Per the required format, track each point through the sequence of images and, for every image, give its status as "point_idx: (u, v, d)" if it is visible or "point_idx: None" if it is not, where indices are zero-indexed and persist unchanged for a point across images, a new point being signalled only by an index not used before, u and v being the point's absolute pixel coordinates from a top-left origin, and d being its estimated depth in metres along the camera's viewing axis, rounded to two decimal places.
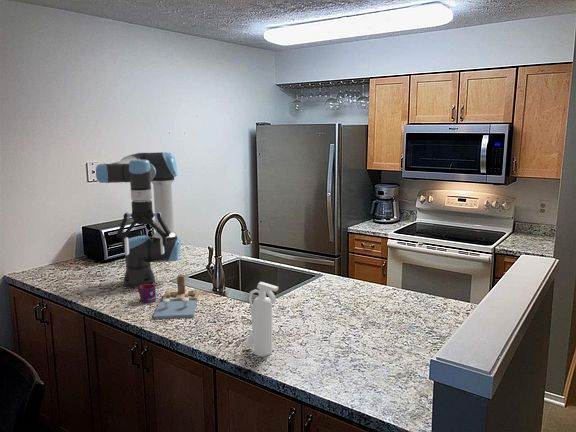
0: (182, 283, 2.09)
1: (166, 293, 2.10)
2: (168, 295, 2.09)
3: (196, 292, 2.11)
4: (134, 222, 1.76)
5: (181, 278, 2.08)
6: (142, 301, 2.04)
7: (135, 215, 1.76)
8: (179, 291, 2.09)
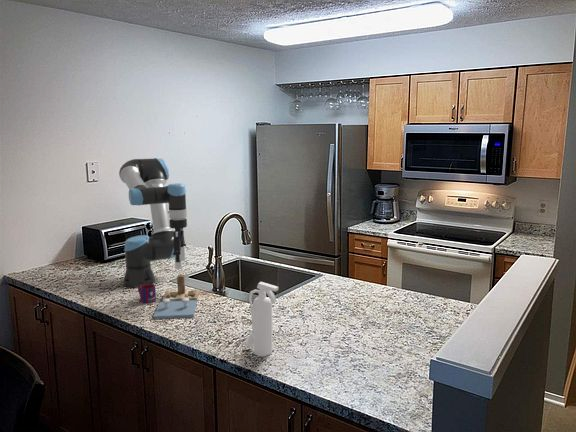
0: (182, 283, 2.09)
1: (166, 293, 2.10)
2: (168, 295, 2.09)
3: (196, 292, 2.11)
4: None
5: (181, 278, 2.08)
6: (142, 301, 2.04)
7: None
8: (179, 291, 2.09)
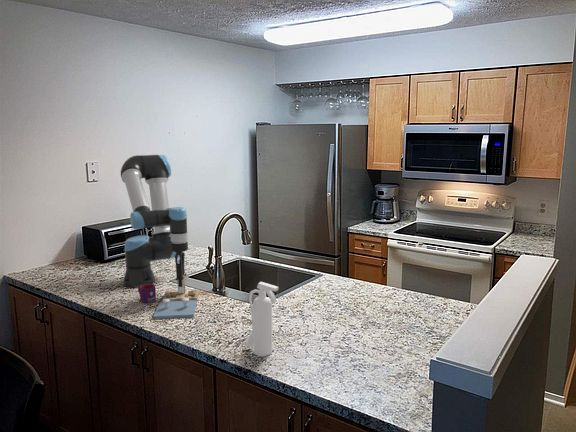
0: None
1: (166, 293, 2.10)
2: (168, 295, 2.09)
3: (196, 292, 2.11)
4: None
5: None
6: (142, 301, 2.04)
7: None
8: None
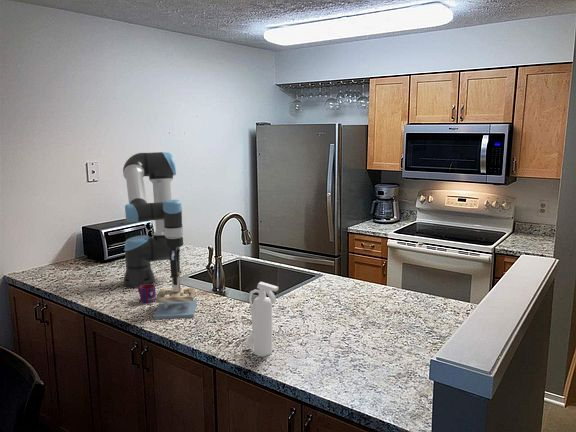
0: None
1: (160, 292, 1.97)
2: (162, 294, 1.96)
3: (192, 290, 1.98)
4: None
5: None
6: (142, 301, 2.04)
7: None
8: None
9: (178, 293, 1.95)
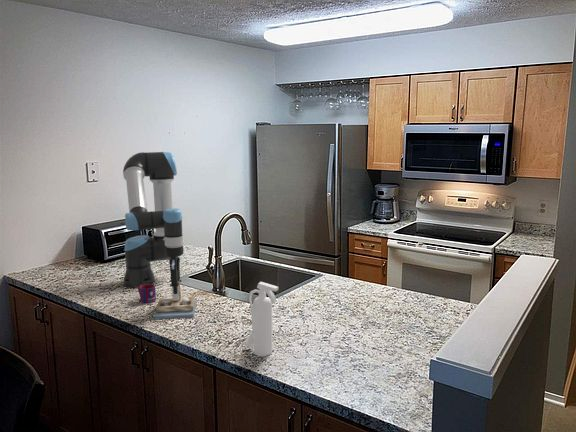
0: None
1: (160, 300, 1.97)
2: (162, 303, 1.95)
3: (192, 299, 1.98)
4: None
5: None
6: (142, 301, 2.04)
7: None
8: None
9: (178, 302, 1.95)
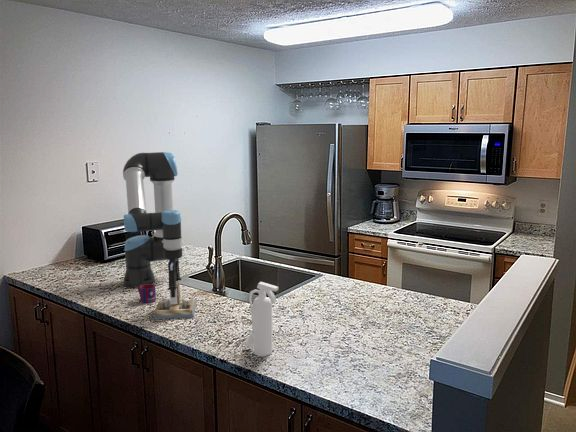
0: None
1: (159, 304, 1.94)
2: (161, 306, 1.92)
3: (191, 303, 1.95)
4: None
5: None
6: (142, 301, 2.04)
7: None
8: None
9: (177, 306, 1.92)
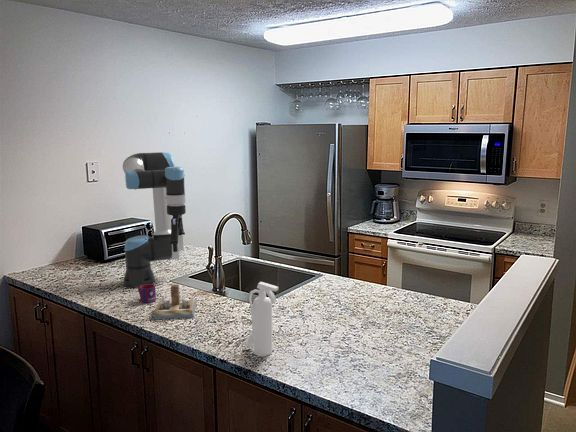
0: (176, 293, 1.92)
1: (159, 304, 1.94)
2: (161, 306, 1.92)
3: (191, 303, 1.95)
4: None
5: (175, 288, 1.92)
6: (142, 301, 2.04)
7: None
8: (173, 302, 1.93)
9: (177, 306, 1.92)
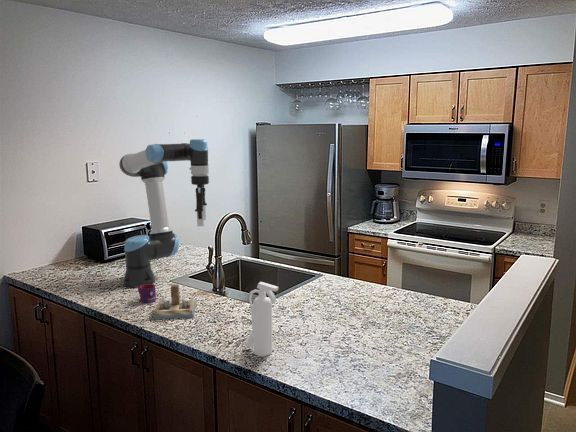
0: (176, 293, 1.92)
1: (159, 304, 1.94)
2: (161, 306, 1.92)
3: (191, 303, 1.95)
4: None
5: (175, 288, 1.92)
6: (142, 301, 2.04)
7: None
8: (173, 302, 1.93)
9: (177, 306, 1.92)
